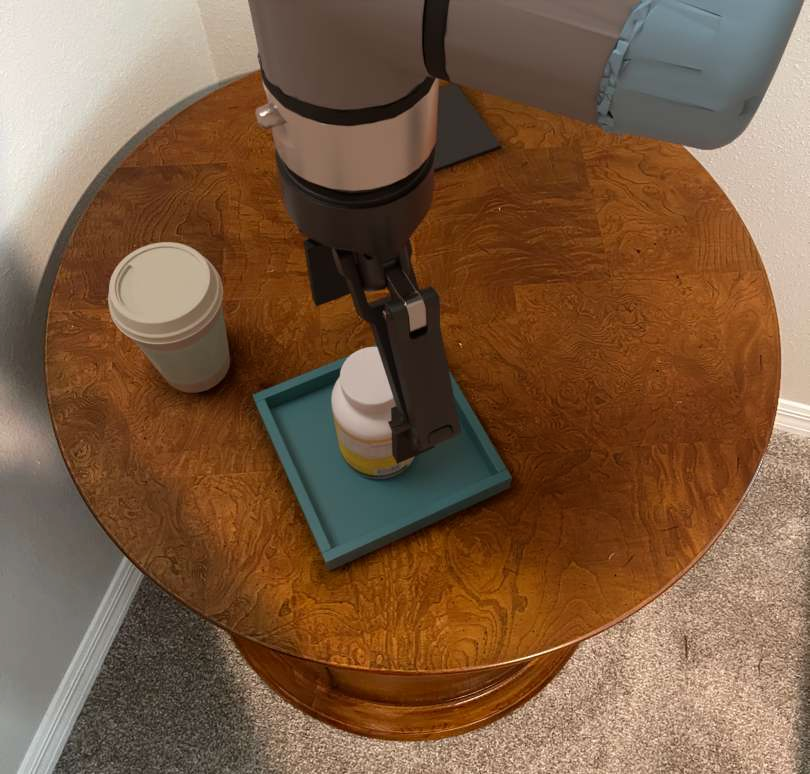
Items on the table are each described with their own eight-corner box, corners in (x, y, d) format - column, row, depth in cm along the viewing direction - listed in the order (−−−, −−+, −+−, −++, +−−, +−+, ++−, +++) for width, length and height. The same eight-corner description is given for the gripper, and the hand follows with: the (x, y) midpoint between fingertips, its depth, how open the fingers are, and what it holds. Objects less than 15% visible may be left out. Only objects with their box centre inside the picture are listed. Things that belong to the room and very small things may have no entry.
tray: (509, 488, 66) (512, 477, 64) (328, 571, 62) (325, 562, 60) (422, 339, 72) (423, 325, 71) (256, 407, 69) (252, 394, 67)
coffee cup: (166, 315, 74) (126, 228, 63) (258, 331, 73) (232, 245, 62) (132, 397, 70) (82, 318, 59) (228, 415, 69) (196, 338, 58)
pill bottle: (390, 396, 69) (386, 319, 59) (434, 454, 67) (439, 384, 57) (324, 436, 68) (309, 364, 57) (367, 497, 65) (359, 432, 55)
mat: (500, 147, 84) (501, 145, 83) (411, 180, 82) (411, 177, 81) (455, 86, 88) (455, 83, 88) (370, 115, 86) (370, 112, 86)
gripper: (191, 3, 43) (255, 257, 61) (396, 381, 32) (398, 551, 50) (325, -36, 44) (347, 223, 63) (563, 312, 33) (505, 501, 52)
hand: (370, 369), depth 57 cm, fingers open, 13 cm apart
